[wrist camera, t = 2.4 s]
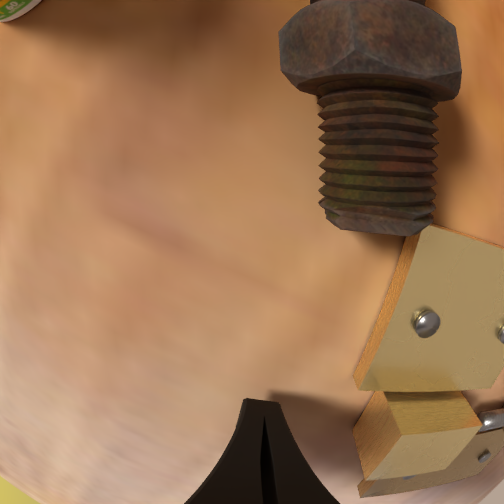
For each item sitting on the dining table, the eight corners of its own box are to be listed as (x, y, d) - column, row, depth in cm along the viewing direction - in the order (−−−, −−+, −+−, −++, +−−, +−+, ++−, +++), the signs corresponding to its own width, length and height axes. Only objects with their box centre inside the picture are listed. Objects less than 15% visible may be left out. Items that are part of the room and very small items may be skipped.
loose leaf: (451, 425, 13) (471, 462, 10) (325, 429, 13) (335, 482, 10) (536, 259, 10) (579, 284, 7) (411, 217, 10) (461, 244, 7)
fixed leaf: (479, 464, 15) (493, 490, 12) (357, 485, 15) (366, 525, 12) (546, 374, 12) (570, 400, 9) (432, 382, 12) (460, 429, 9)
